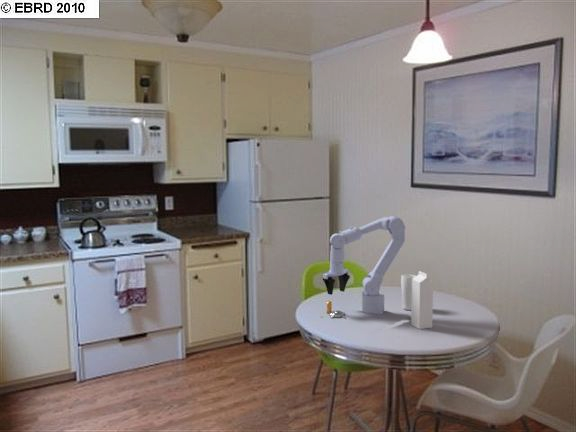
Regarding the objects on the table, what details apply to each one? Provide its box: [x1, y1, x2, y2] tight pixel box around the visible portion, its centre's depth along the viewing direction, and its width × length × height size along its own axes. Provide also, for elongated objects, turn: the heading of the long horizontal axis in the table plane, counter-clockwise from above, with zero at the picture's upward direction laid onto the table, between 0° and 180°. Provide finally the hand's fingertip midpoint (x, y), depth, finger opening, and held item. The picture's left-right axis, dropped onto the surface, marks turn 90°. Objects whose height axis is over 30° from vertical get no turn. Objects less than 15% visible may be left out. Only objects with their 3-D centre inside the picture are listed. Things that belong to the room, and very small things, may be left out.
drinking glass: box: [400, 273, 417, 311], centre depth 216 cm, size 7×7×15 cm
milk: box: [410, 270, 434, 330], centre depth 193 cm, size 6×6×22 cm
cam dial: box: [326, 300, 346, 319], centre depth 204 cm, size 10×8×5 cm
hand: (336, 292), depth 210 cm, fingers open, 7 cm apart
